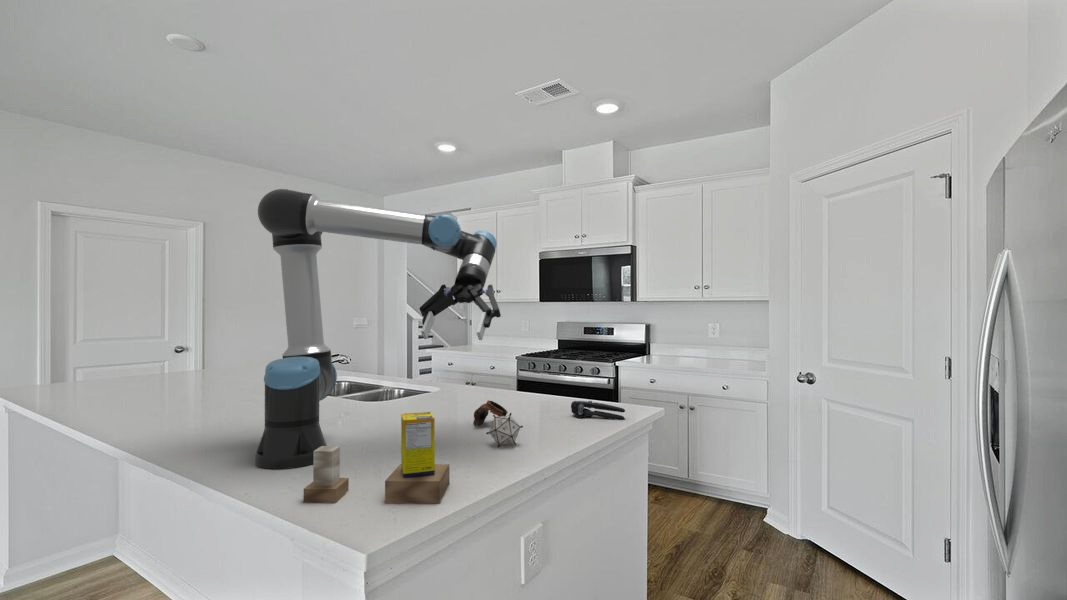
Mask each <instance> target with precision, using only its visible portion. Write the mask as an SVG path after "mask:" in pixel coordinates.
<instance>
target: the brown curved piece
mask: <svg viewBox="0 0 1067 600" xmlns="http://www.w3.org/2000/svg"><path fill="white" fill-rule="evenodd" d="M489 412H490V413H492V414H493V415H495V416H496V417H499V416H507V414H508V411H507V409H506V408H504V407H503V406H502V405H500V404H499V403H498V402H495V401H494V400H487V401H486V403H483V404H481V405H480V406H479V407H478V408H477V409H475V410H474V412H473V426H474V427H477V425H478V426H483V425H484V423H485V421H486V418H487V416H488V415H489V414H490V413H489Z"/></svg>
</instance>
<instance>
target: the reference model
mask: <svg viewBox="0 0 1067 600" xmlns="http://www.w3.org/2000/svg"><path fill="white" fill-rule="evenodd" d="M340 451H341V447H340V446H339V445H327V446H321V447H319V448H318V449H316V450H315V451H314V463H313V464H312V465H313V466H312V467H313V471H312V473H313V474H312V475H313V476H312V477H313V481H312V482H310V483H309V484H308V485H306V486H305V487H304V488H303V496H302V497H303V502H302V503H316V504H317V503H318V504H319V503H326V504H330V503H334V504H335V503H337V502H338V501H340V499H341V498H342V497H344V496H345V495H346V494H347V493H348V492H349V483H350V482H349V480H350V479H349V477H341V476H340V475H341V469H340V468H341V465H340V464H341V463H340V462H341V461H340V460H341V457H340V456H341V454H340ZM347 491H348V492H347ZM346 492H347V493H346ZM345 493H346V494H345ZM344 494H345V495H344ZM343 495H344V496H343Z"/></svg>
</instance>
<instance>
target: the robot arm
mask: <svg viewBox="0 0 1067 600" xmlns="http://www.w3.org/2000/svg"><path fill="white" fill-rule="evenodd" d="M257 215H258V220H259V222H260V224H261V225H262V227H263V228H264V229H265V230H266V231H268V233H270V234H272V235H271V237H272V238H271V239H272V248H273V250H274V251H275V252H276V253H277V254H279V256H280V266H281V277H282V279H281V280H282V289H283V299H284V300H283V303H284V314H285V324H286V335H287V349H286V350H285V351H284V352H283V353H282V354H281V355H282V358H278V359H275V360H273V361H270V362H269V363H268V364H267V365H266V366H265V370H264V371H265V373H264V376H263V382H264V430H263V432H262V436H261V438H260V442H259V444H258V446H257V449H256V452H255V465H256V466H257V467H260V468H264V469H271V470H272V469H273V470H274V469H275V470H282V469H292V468H299V467H305V466H309V465H314V451H315V450H316V449H318V448H319V447H321V446H328V445H327V442H326V440H325V435H324V433H323V431H322V428H321V425H320V401H323V400H325V399H326V398H327V397H328V396H329V395H330V394H331V393H332V392H333V390H334V388H335V386H336V383H337V380H338V374H337V373H338V372H337V369H336V366H335V365H334V363H333V362H332V361H333V360H332V352H331V348H330V347H329V346H327V345H326V344H325V341H324V332H323V331H324V329H323V319H322V318H323V316H322V308H321V307H322V305H321V304H322V303H321V296H320V295H321V294H320V283H319V282H320V281H319V270H318V261H317V259H318V258H317V254H318V253H319V252H320V251H321V249H323V246H322V234H323V233H328V234H335V235H336V234H337V235H344V236H352V237H353V236H354V237H360V238H366V239H367V238H369V239H376V240H383V241H392V242H398V243H408V244H414V245H422V246H424V247H427V248H429V249H430V250H433V251H437V252H440V253H442V254H445V255H448V256H451V257H454V258H457V259H458V260H462V262H461V264H460V267H459V269H458V272H457V274H456V277H455V279H454V284H453V285H452V286H451V287H450V286H449V287H448V286H446V284H441V285H440V288H439V289H438V290H437V291H436V292H435V293H434V294H433V295H432V296H430V297H429V299H427V300H426V301H425V302H424V303H423V304H422V305H420V307H419V311H420V314H421V317H423V318H422V320H421V323H422V328H421V330H420V333H421V335H422V336H423V337H422V338H423V339H424V340H428V337H429V335H430V332H431V331H432V327H433V325H434V322H435V320H436V319H435V317H436V316H437V315H439V314H441V313H442V312H443V311H445V310H446V309H448V308H449V307H451V306H455V305H457V304H464V303H466V304H471V303H474V304H475V305H476V306H477V307H478V308H479V309H480V311H481V312H482V313H481V316H480V320H479V323H478V327H477V329H476V336H477V338H478V340H479V341H483V338H484V334H485V331H486V329H489V328H490V327H491V323H492V319H493V318H501V311H500V308H499V307H500V306H499V305H498V302H497V299H496V297H495V290H494V286H493V284H488V285H487V287H485V285H486V282H487V278H488V274H489V271H490V268H491V265H492V263H493V261H494V258H495V254H496V249H497V239H496V237H495V236H494V235H493V234H492V233H491V232H489V231H486V230H477V231H475V232H474V233H473V234H472V233H469V232H466V231H463V230H461V229H462V228H461V226H460V224H459V222H458V221H457V219H456V218H455V217H453V216H452V215H449V214H439V215H430V214H424V213H419V212H418V213H417V212H409V211H402V210H396V209H390V208H389V209H388V208H383V207H375V206H368V205H367V206H366V205H360V204H353V203H346V202H341V201H340V202H339V201H334V200H325V199H320V198H319V196H318V195H317V194H315V193H307V192H301V191H297V190H292V189H288V188H278V189H274V190H271V191H269V192H268V193H266V194H265V195H264V196H263V197H262V198H261V199H260V201H259V203H258V206H257ZM484 294H485V296H486V297H488V299H489V303H490V305H491V307H489V305H488V304H487V303H486V302H485V300H484V299H483V298H482V297H481V296H482V295H484Z"/></svg>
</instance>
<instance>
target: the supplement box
mask: <svg viewBox="0 0 1067 600" xmlns="http://www.w3.org/2000/svg"><path fill="white" fill-rule="evenodd" d="M400 417H401V418H400V421H401V422H400V424H401V425H400V427H401V428H400V431H401V433H400V434H401V435H400V436H401V437H400V438H401V446H400V447H401V448H400V451H401V452H400V453H401V456H400V457H401V458H400V459H401V463H400V464H401V465H402V473H403V478H406V477H414V476H423V475H434V474H435V464H436V459H435V458H436V455H435V453H436V452H435V451H436V450H435V449H436V447H435V444H436V442H435V437H436V436H435V434H436V431H435V430H436V429H435V423H436V422H435V417H434V415H433V413H432V411H423V412H422V411H421V412H420V411H419V412H408V413H401V415H400Z"/></svg>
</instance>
